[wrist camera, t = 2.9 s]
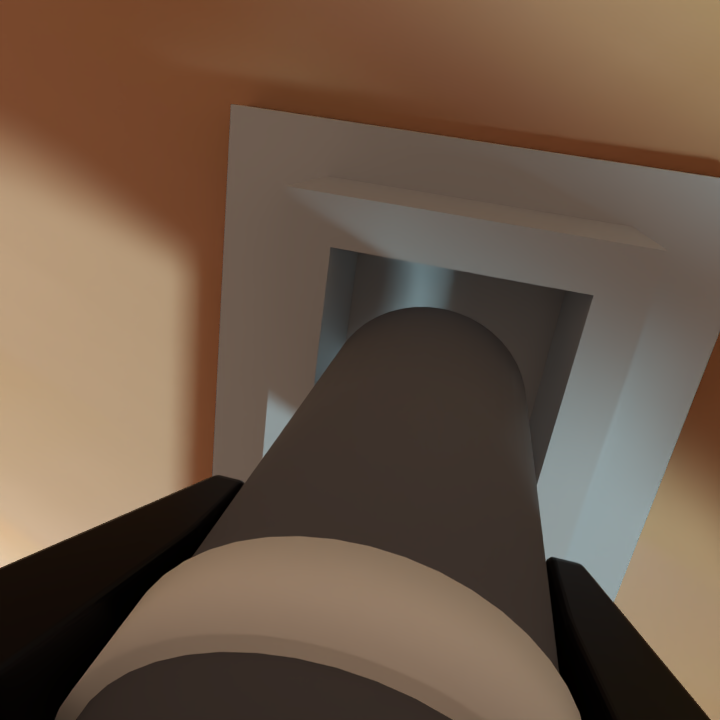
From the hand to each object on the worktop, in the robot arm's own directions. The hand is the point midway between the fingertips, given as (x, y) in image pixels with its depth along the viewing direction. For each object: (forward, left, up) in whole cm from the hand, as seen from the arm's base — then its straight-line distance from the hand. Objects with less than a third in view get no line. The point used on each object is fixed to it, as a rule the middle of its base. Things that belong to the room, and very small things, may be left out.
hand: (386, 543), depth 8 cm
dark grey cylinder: (0, 0, -4) cm, 4 cm away
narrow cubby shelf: (0, +7, -9) cm, 11 cm away
